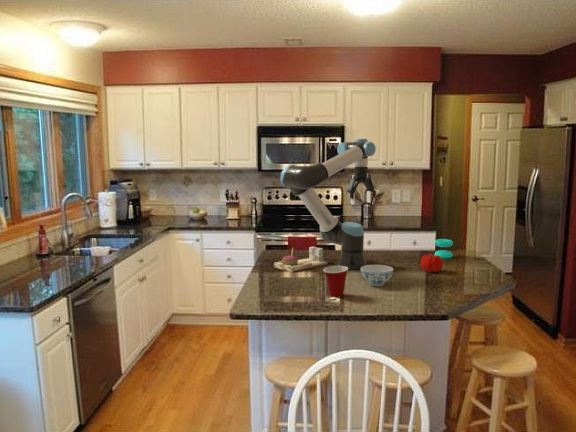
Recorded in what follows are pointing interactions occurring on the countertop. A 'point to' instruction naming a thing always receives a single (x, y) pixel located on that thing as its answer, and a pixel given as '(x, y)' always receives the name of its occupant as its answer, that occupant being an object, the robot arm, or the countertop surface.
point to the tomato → (431, 263)
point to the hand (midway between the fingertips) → (360, 203)
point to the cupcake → (290, 259)
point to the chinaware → (376, 274)
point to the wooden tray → (305, 261)
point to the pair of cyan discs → (443, 253)
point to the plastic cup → (336, 279)
